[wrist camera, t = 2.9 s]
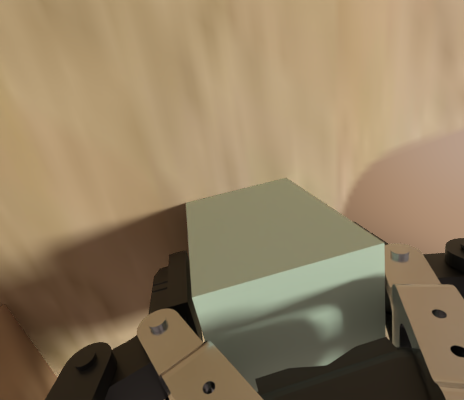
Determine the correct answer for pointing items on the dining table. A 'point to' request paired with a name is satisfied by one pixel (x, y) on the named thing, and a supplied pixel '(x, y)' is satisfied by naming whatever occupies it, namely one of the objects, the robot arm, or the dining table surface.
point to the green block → (283, 278)
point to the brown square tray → (21, 363)
